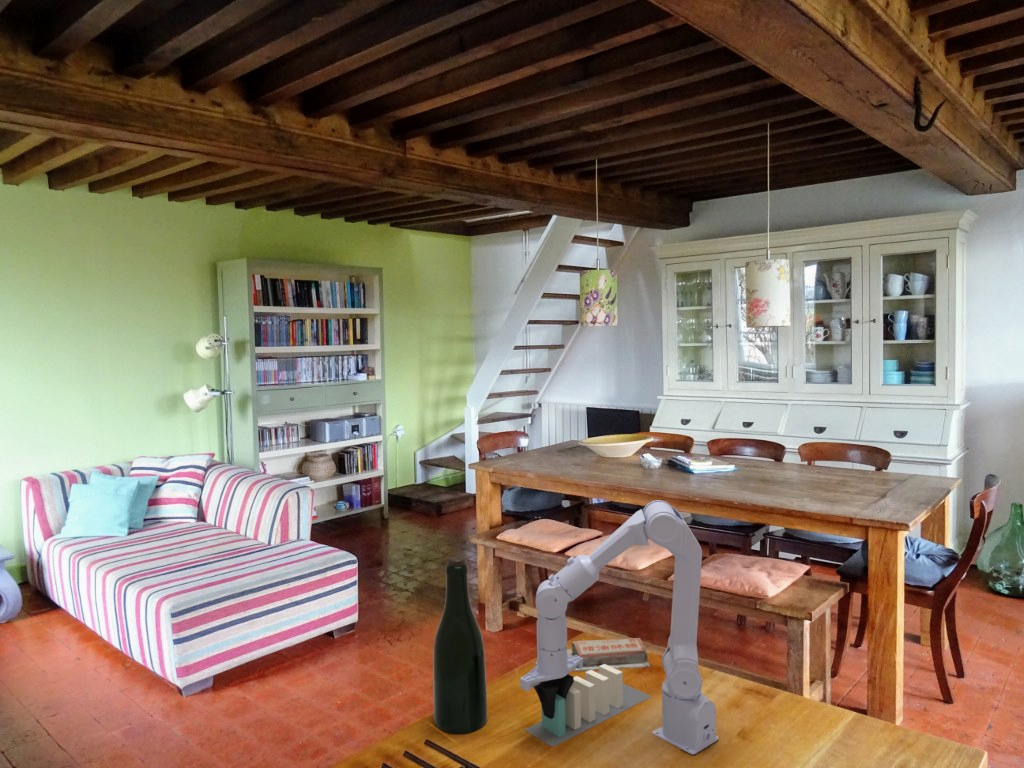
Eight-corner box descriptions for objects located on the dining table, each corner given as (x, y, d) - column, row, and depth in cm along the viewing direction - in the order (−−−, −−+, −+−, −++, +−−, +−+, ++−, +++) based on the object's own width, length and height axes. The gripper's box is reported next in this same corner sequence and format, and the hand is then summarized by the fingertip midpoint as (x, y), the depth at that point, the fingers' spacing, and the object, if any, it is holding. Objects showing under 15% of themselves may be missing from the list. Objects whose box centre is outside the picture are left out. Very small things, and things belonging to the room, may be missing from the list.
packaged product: (639, 632, 177) (650, 650, 167) (639, 651, 177) (650, 670, 167) (564, 636, 175) (571, 654, 166) (564, 655, 176) (571, 675, 166)
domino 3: (577, 709, 149) (576, 675, 149) (595, 719, 145) (594, 684, 145) (571, 712, 148) (571, 678, 148) (589, 722, 144) (589, 687, 144)
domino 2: (562, 716, 147) (562, 682, 146) (581, 726, 143) (580, 691, 142) (557, 719, 146) (556, 684, 145) (575, 729, 142) (574, 694, 141)
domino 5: (604, 696, 154) (604, 663, 154) (622, 705, 150) (622, 672, 150) (599, 699, 153) (598, 666, 153) (617, 708, 149) (617, 674, 149)
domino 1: (548, 723, 144) (547, 688, 144) (565, 734, 140) (564, 698, 140) (541, 726, 143) (541, 691, 143) (559, 737, 139) (558, 701, 139)
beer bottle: (498, 722, 146) (494, 557, 143) (455, 743, 139) (450, 570, 136) (465, 703, 154) (461, 546, 151) (423, 721, 147) (418, 557, 144)
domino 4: (591, 703, 152) (590, 669, 151) (609, 712, 148) (609, 678, 147) (585, 705, 151) (585, 672, 150) (603, 715, 147) (603, 680, 146)
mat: (651, 698, 154) (651, 696, 154) (552, 749, 136) (552, 746, 136) (622, 684, 160) (622, 683, 160) (524, 731, 142) (524, 729, 142)
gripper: (565, 628, 148) (565, 694, 149) (509, 649, 139) (510, 719, 140) (590, 639, 143) (591, 707, 144) (534, 661, 133) (535, 734, 134)
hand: (553, 714), depth 141 cm, fingers closed on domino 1, 2 cm apart
